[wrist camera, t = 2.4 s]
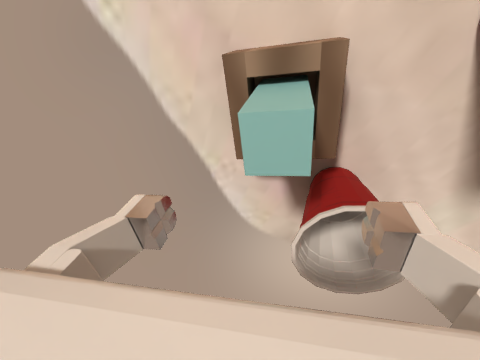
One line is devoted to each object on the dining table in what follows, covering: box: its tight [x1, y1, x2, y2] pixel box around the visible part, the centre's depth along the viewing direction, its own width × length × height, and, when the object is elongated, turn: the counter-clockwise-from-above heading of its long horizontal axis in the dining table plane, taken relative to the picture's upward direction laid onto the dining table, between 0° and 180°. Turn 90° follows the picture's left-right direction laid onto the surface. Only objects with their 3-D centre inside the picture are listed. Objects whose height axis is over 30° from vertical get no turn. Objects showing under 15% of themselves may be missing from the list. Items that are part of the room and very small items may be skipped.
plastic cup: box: [291, 167, 405, 294], centre depth 25 cm, size 11×11×12 cm
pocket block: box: [222, 37, 350, 159], centre depth 23 cm, size 10×10×5 cm
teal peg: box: [238, 75, 314, 176], centre depth 19 cm, size 4×4×12 cm
